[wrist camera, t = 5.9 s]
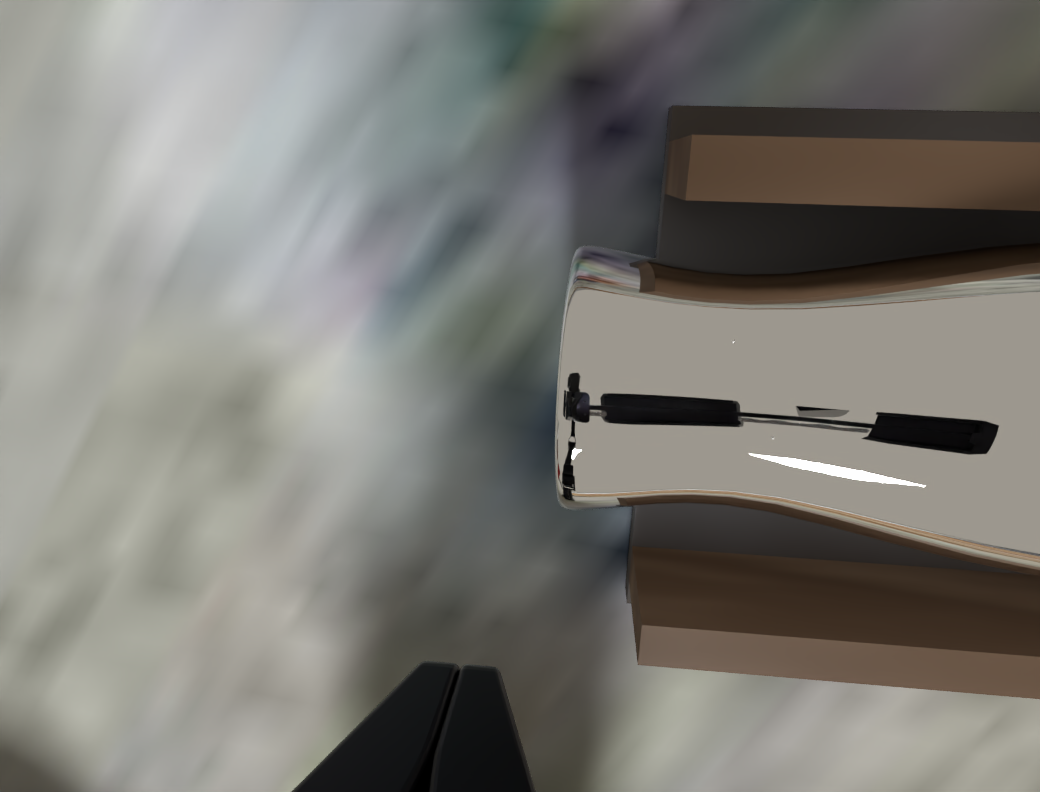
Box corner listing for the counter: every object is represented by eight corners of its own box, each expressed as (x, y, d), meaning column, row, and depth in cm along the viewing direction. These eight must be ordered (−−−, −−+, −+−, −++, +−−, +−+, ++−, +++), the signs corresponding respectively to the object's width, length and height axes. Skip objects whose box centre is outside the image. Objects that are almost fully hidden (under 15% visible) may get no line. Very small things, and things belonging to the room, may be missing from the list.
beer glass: (587, 196, 17) (1267, 211, 15) (579, 431, 20) (1137, 474, 18) (553, 278, 11) (1706, 325, 9) (549, 595, 14) (1387, 693, 12)
